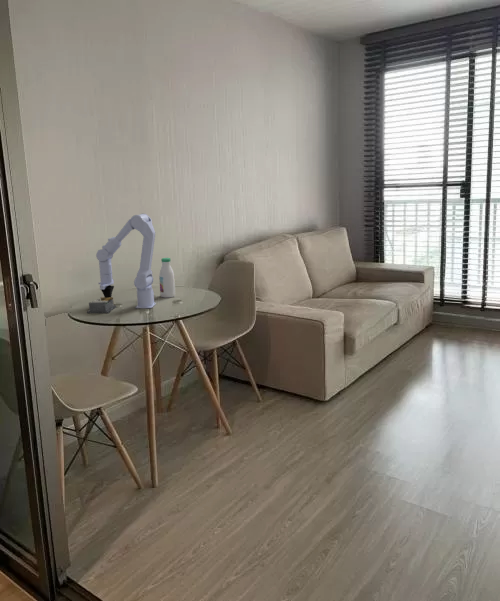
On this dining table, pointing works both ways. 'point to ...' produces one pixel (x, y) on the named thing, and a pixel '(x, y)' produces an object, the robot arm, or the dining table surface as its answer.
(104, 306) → the gauge frame
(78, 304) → the dining table surface
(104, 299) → the wooden t-shaped block
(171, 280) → the milk bottle
